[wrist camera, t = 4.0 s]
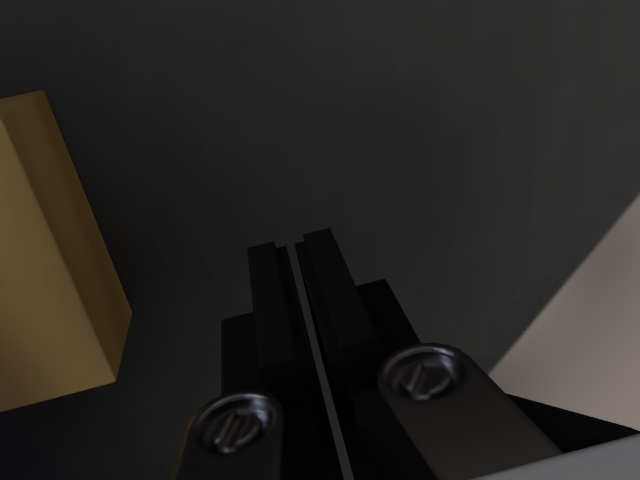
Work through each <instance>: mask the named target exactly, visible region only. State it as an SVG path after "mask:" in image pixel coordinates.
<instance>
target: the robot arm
mask: <svg viewBox="0 0 640 480" xmlns="http://www.w3.org/2000/svg"><path fill="white" fill-rule="evenodd" d="M303 236H304V242H300V243H296V244H295V248H296V252H297V256H298V260H299V265H300V269H301V273H302V277H303V281H304V285H305V290H306V294H307V298H308V302H309V306H310V310H311V315H312V319H313V323H314V327H315V331H316V336H317V340H318V344H319V348H320V352H321V356H322V360H323V364H324V368H325V372H326V376H327V380H328V383H329V387H330V391H331V395H332V398H333V402H334V406H335V409H336V413H337V417H338V421H339V424H340V428H341V432H342V436H343V439H344V443H345V447H346V451H347V454H348V458H349V462H350V465H351V469H352V473H353V477H354V480H640V431H638V430H634V429H632V428H630V427H626V426H623V425H619V424H615V423H612V422H608V421H604V420H601V419H597V418H594V417H590V416H586V415H583V414H579V413H575V412H572V411H568V410H564V409H561V408H557V407H553V406H549V405H546V404H543V403H539V402H535V401H531V400H528V399H524V398H521V397H517V396H513V395H509V394H506V393H504V392H503V391H502V390H501V388H500V387H498V385H497V384H496V383H495V382H494V381H493V380H492V379H491V378H490V377H489V376H488V375H487V374H486V373H485V372H484V371H483V370H482V369H481V368H480V367H479V366H478V365H477V364H476V363H475V362H474V361H473V360H472V359H471V358H470V357H469V356H468V355H467V354H465V353H464V352H463V351H461V350H460V349H457V348H455V347H452V346H449V345H446V344H439V343H421V342H420V340H419V339H418V337H417V335H416V333H415V331H414V330H413V328H412V326H411V324H410V322H409V321H408V319H407V317H406V315H405V313H404V312H403V310H402V308H401V306H400V304H399V303H398V301H397V299H396V297H395V295H394V293H393V292H392V290H391V288H390V286H389V284H388V283H387V281H386V280H385V279H382V280H378V281H374V282H370V283H366V284H362V285H358V286H355V284H354V281H353V279H352V277H351V275H350V272H349V270H348V268H347V265H346V263H345V261H344V259H343V256H342V254H341V252H340V250H339V247H338V245H337V243H336V241H335V238H334V236H333V234H332V232H331V229H330V228H327V229H323V230H319V231H315V232H311V233H307V234H303ZM247 251H248V261H249V271H250V281H251V291H252V302H253V312H251V313H247V314H243V315H239V316H235V317H231V318H227V319H223V320H222V324H221V396H220V397H218V398H215V399H213V400H211V401H210V402H209V403H207V404H206V405H205V406H203V407H202V408H201V409H199V411H198V412H197V413H196V414H195V415H194V416H193V418H192V419H191V420H190V422H189V424H188V426H187V428H186V431H185V434H184V437H183V441H182V445H181V448H180V452H179V456H178V459H177V463H176V466H175V470H174V474H173V477H172V480H344V479H343V475H342V471H341V466H340V462H339V458H338V454H337V450H336V446H335V442H334V438H333V434H332V430H331V426H330V422H329V418H328V414H327V410H326V406H325V402H324V397H323V393H322V389H321V385H320V381H319V377H318V373H317V369H316V365H315V361H314V357H313V353H312V349H311V345H310V341H309V337H308V333H307V329H306V325H305V320H304V316H303V312H302V308H301V304H300V300H299V296H298V292H297V288H296V284H295V280H294V276H293V272H292V268H291V264H290V260H289V256H288V252H287V248H286V246H284V247H280V248H276V247H275V243H274V242H270V243H266V244H262V245H258V246H254V247H250V248H247Z"/></svg>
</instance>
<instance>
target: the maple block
mask: <svg viewBox="0 0 640 480" xmlns="http://www.w3.org/2000/svg"><path fill="white" fill-rule="evenodd" d="M131 316H132V310H131V308H130V305H129V303H128V300H127V298H126V295H125V293H124V290H123V288H122V285H121V283H120V280H119V278H118V275H117V273H116V270H115V268H114V265H113V263H112V260H111V258H110V255H109V253H108V250H107V247H106V245H105V242H104V240H103V237H102V235H101V232H100V230H99V227H98V225H97V222H96V220H95V217H94V215H93V212H92V210H91V207H90V205H89V202H88V200H87V197H86V195H85V192H84V190H83V187H82V185H81V182H80V180H79V177H78V175H77V172H76V170H75V167H74V164H73V162H72V159H71V157H70V154H69V152H68V149H67V147H66V144H65V142H64V139H63V137H62V134H61V132H60V129H59V127H58V124H57V122H56V119H55V117H54V114H53V112H52V109H51V107H50V104H49V102H48V99H47V97H46V94H45V92H44V91H43V90H39V91H34V92H30V93H25V94H21V95H17V96H12V97H8V98H3V99H0V412H3V411H7V410H11V409H14V408H18V407H22V406H26V405H30V404H33V403H37V402H41V401H45V400H49V399H52V398H56V397H60V396H64V395H68V394H71V393H75V392H79V391H83V390H87V389H90V388H94V387H98V386H102V385H106V384H109V383H113V382H115V381H116V378H117V374H118V370H119V366H120V362H121V357H122V353H123V349H124V345H125V341H126V337H127V332H128V328H129V324H130V320H131Z"/></svg>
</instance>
